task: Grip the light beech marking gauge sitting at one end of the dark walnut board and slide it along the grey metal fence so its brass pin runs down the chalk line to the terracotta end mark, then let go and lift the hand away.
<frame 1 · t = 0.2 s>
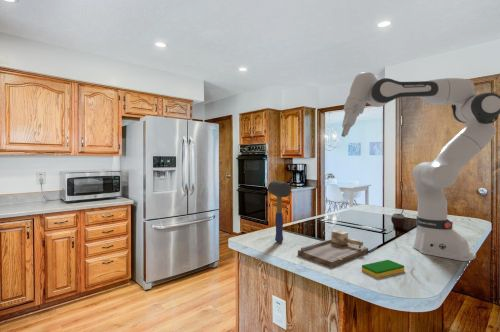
hand: (344, 135, 131), 51 cm above the countertop, tool tilted 20°, fingers open, 8 cm apart
walnut board: (333, 253, 120), on the countertop
marking gauge: (347, 239, 124), point 5 cm above the countertop, slide at -9.0 cm
rubber mallet: (279, 242, 136), on the countertop
dish sponge: (382, 272, 102), on the countertop
mate gourd: (398, 228, 162), on the countertop
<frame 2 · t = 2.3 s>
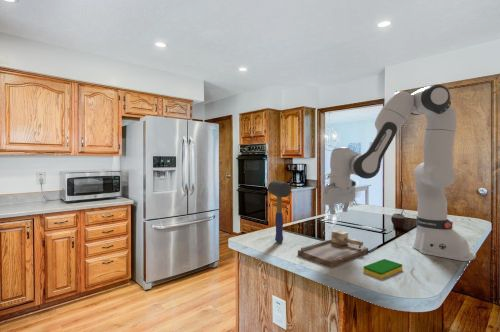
hand: (338, 212, 127), 16 cm above the countertop, tool pointing down, fingers open, 8 cm apart
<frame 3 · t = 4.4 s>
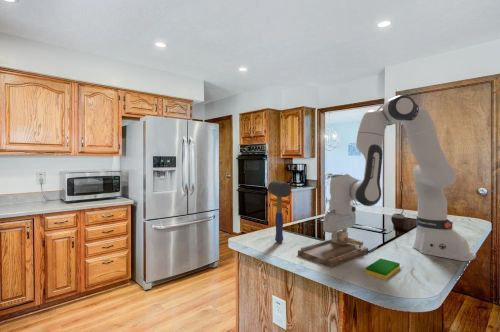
hand: (339, 238, 127), 4 cm above the countertop, tool pointing down, fingers closed on marking gauge, 4 cm apart
marking gauge: (347, 239, 124), point 5 cm above the countertop, slide at -9.0 cm, touching gripper
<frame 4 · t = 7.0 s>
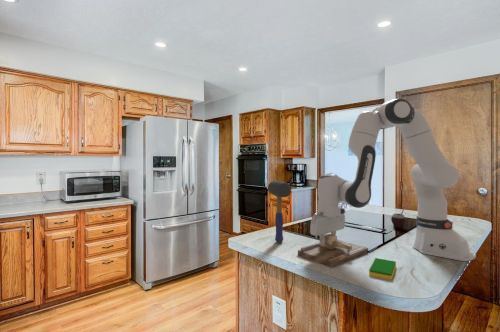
hand: (327, 242, 122), 4 cm above the countertop, tool pointing down, fingers closed on marking gauge, 4 cm apart
marking gauge: (335, 243, 119), point 5 cm above the countertop, slide at -0.4 cm, touching gripper
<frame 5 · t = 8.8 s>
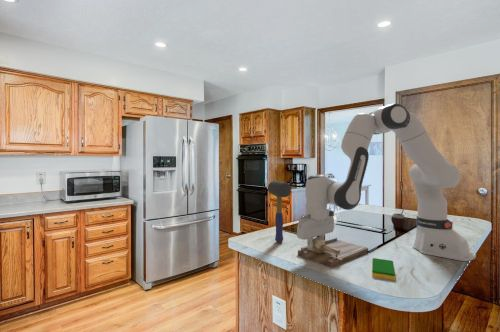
hand: (315, 245, 117), 4 cm above the countertop, tool pointing down, fingers closed on marking gauge, 4 cm apart
marking gauge: (324, 246, 114), point 5 cm above the countertop, slide at 7.7 cm, touching gripper
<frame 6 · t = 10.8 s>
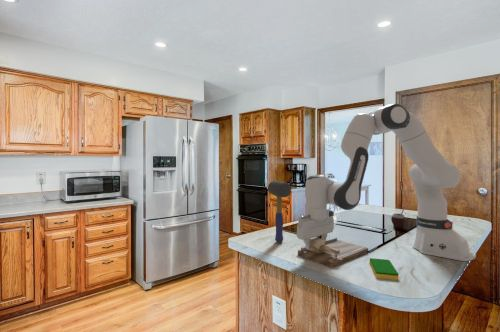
hand: (315, 246, 117), 4 cm above the countertop, tool pointing down, fingers open, 8 cm apart
marking gauge: (323, 247, 114), point 5 cm above the countertop, slide at 8.0 cm
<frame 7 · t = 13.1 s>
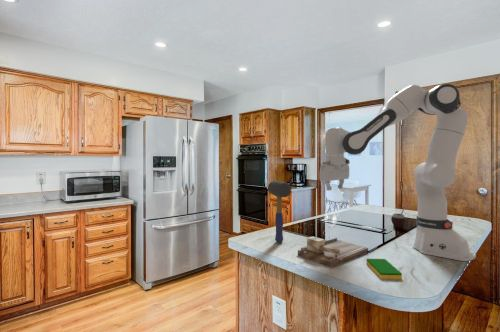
hand: (334, 189, 136), 26 cm above the countertop, tool pointing down, fingers open, 8 cm apart
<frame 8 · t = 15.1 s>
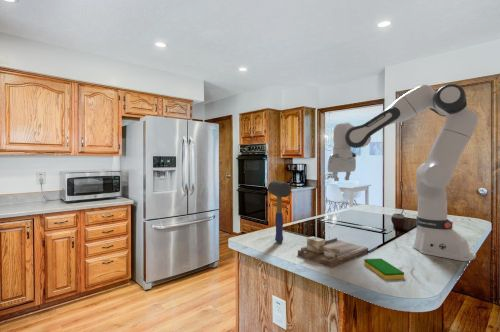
hand: (341, 180, 146), 29 cm above the countertop, tool pointing down, fingers open, 8 cm apart
at the end: marking gauge slide at 8.0 cm; the gripper is holding nothing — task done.
